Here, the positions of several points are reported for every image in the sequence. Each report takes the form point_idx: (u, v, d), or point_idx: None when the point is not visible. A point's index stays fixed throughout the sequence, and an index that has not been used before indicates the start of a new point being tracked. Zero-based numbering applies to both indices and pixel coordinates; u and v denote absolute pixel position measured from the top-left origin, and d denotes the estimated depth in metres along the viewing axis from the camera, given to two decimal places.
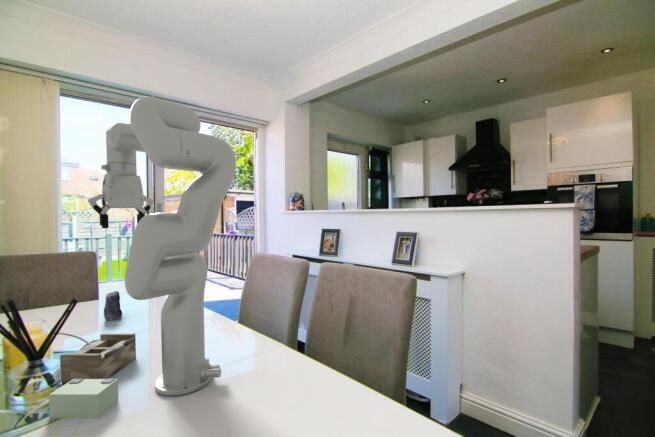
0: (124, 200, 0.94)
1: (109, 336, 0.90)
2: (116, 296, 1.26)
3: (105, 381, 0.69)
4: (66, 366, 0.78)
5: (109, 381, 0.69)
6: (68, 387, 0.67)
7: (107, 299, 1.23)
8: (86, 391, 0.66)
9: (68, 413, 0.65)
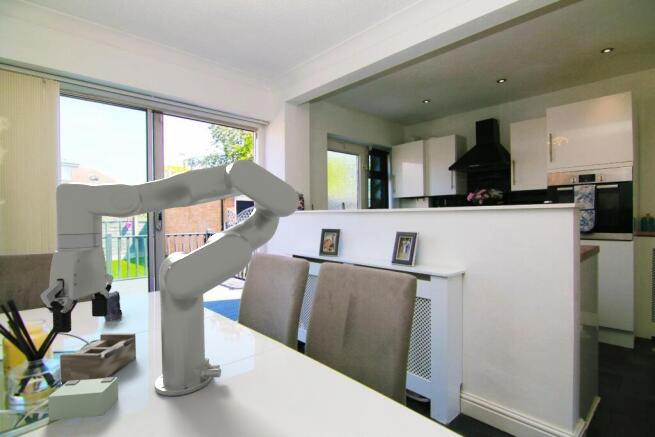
0: None
1: (109, 336, 0.90)
2: (116, 296, 1.26)
3: (105, 380, 0.70)
4: (66, 366, 0.78)
5: (109, 379, 0.70)
6: (66, 388, 0.67)
7: (107, 299, 1.23)
8: (89, 391, 0.66)
9: (70, 414, 0.65)
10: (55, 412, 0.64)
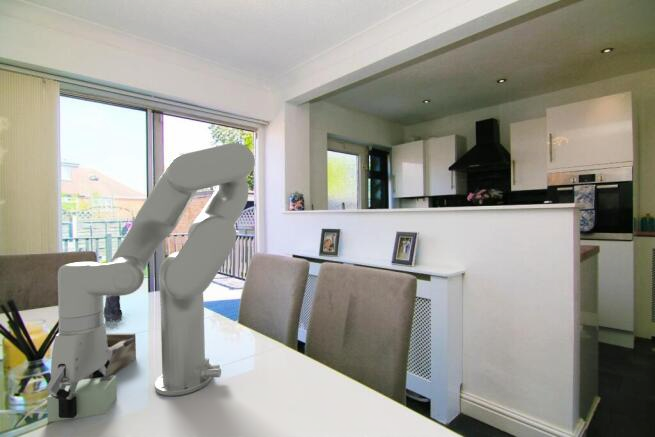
0: None
1: (109, 336, 0.90)
2: (116, 296, 1.26)
3: (104, 378, 0.70)
4: None
5: (109, 378, 0.70)
6: None
7: (107, 299, 1.23)
8: (89, 389, 0.66)
9: None
10: (54, 412, 0.64)
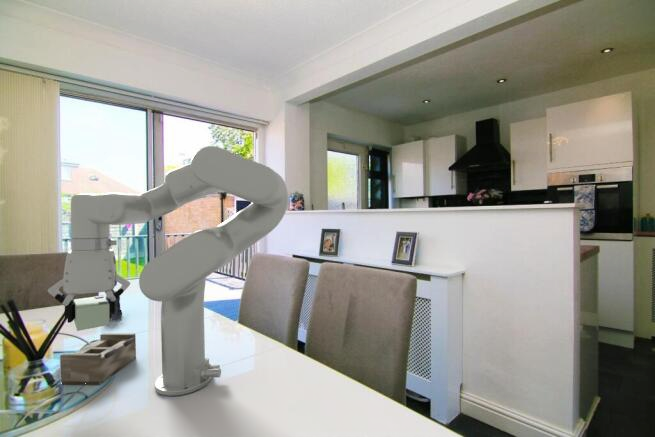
0: None
1: (109, 336, 0.90)
2: None
3: (100, 302, 0.76)
4: (66, 366, 0.78)
5: (101, 303, 0.75)
6: (87, 299, 0.80)
7: (107, 299, 1.23)
8: (80, 305, 0.75)
9: None
10: None
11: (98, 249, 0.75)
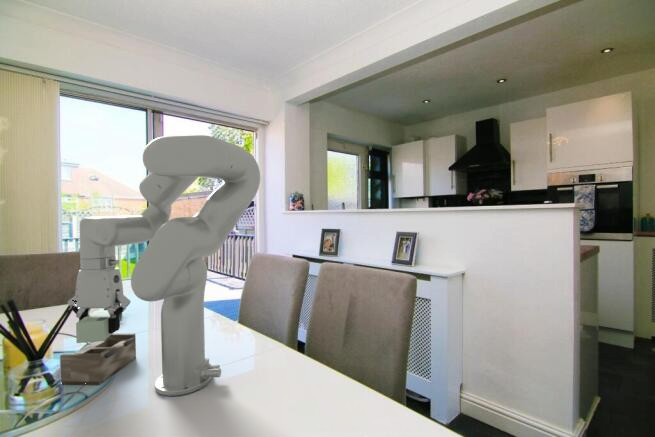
0: None
1: (109, 336, 0.90)
2: None
3: (100, 318, 0.81)
4: (66, 366, 0.78)
5: (99, 319, 0.81)
6: (103, 312, 0.87)
7: None
8: (86, 318, 0.82)
9: None
10: None
11: (96, 269, 0.81)
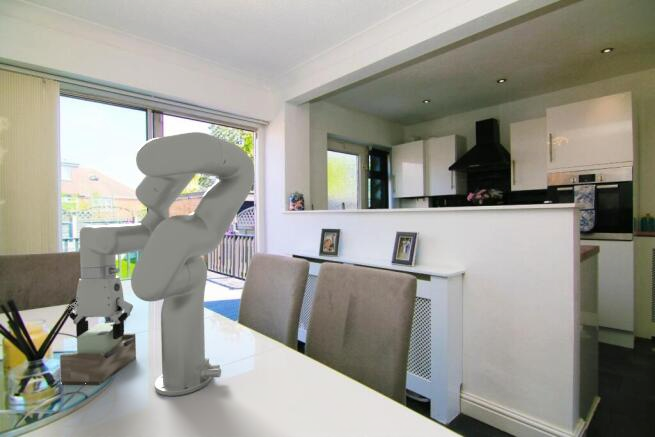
0: None
1: None
2: None
3: (101, 332, 0.81)
4: (66, 366, 0.78)
5: (100, 333, 0.80)
6: (105, 325, 0.87)
7: None
8: (87, 332, 0.82)
9: None
10: None
11: (97, 277, 0.81)
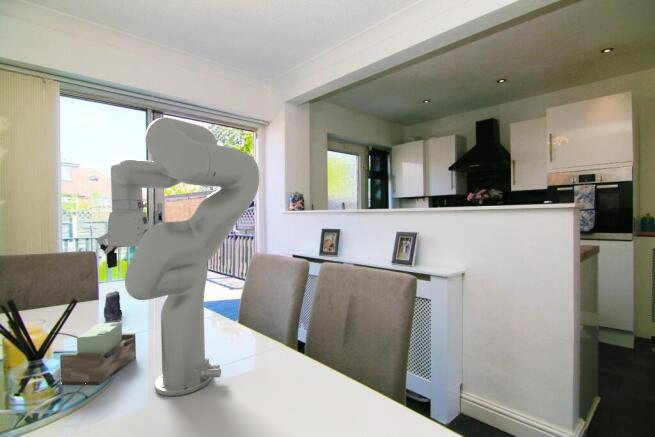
0: None
1: None
2: (116, 296, 1.26)
3: (101, 332, 0.81)
4: (66, 366, 0.78)
5: (100, 333, 0.80)
6: (105, 325, 0.87)
7: (107, 299, 1.23)
8: (87, 332, 0.82)
9: None
10: None
11: (128, 209, 0.89)
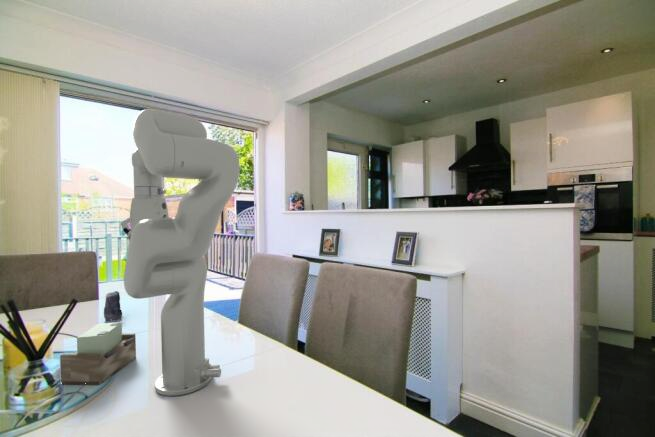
0: None
1: None
2: (116, 296, 1.26)
3: (101, 332, 0.81)
4: (66, 366, 0.78)
5: (100, 333, 0.80)
6: (105, 325, 0.87)
7: (107, 299, 1.23)
8: (87, 332, 0.82)
9: None
10: None
11: (148, 195, 0.95)
